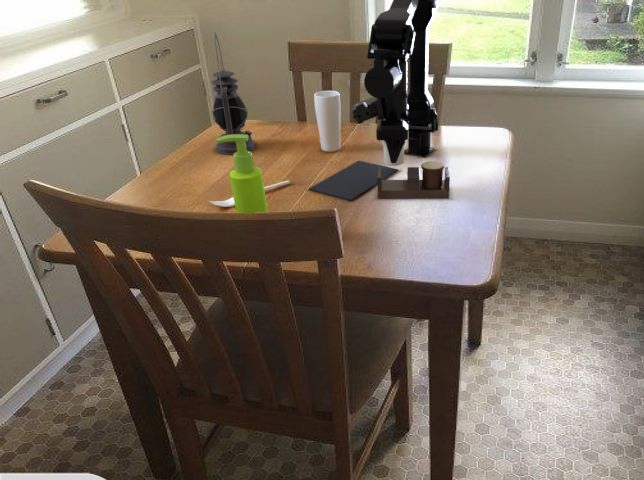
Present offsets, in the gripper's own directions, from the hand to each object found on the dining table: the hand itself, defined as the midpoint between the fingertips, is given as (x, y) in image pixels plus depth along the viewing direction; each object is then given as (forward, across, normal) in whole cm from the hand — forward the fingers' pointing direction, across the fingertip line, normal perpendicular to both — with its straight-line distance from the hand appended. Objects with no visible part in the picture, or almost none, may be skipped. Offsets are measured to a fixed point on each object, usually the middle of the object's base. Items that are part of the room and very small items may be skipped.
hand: (393, 158), depth 116 cm
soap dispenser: (+8, +19, -27) cm, 34 cm away
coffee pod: (+1, 0, 0) cm, 1 cm away
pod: (+6, 0, +8) cm, 10 cm away
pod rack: (+8, 0, +4) cm, 9 cm away
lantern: (+8, -30, -45) cm, 55 cm away
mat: (+8, -8, -10) cm, 15 cm away
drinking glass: (+8, -29, -18) cm, 35 cm away
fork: (+8, +2, -32) cm, 33 cm away
